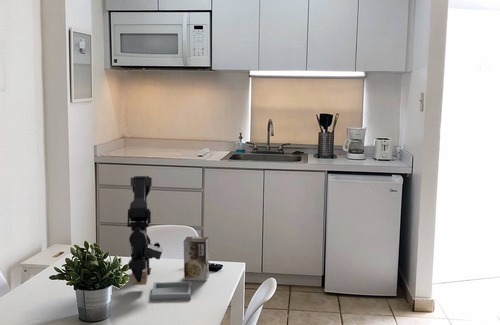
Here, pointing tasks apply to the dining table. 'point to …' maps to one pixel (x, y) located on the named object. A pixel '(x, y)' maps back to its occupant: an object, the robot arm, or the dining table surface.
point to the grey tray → (171, 291)
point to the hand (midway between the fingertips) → (139, 279)
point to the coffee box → (196, 258)
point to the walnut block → (143, 278)
